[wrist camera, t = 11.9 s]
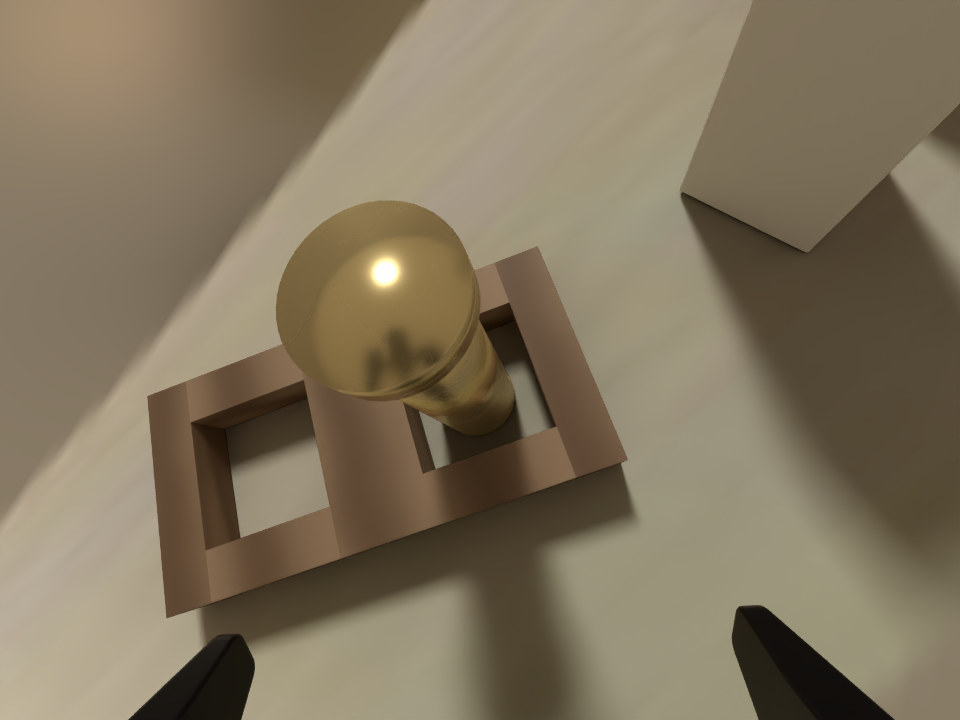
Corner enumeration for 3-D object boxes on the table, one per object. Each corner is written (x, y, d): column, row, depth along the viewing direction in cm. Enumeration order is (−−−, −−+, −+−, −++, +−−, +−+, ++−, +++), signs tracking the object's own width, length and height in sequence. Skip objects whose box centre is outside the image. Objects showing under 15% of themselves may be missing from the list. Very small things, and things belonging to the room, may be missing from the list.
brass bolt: (500, 461, 23) (414, 426, 10) (414, 422, 24) (241, 347, 11) (539, 370, 24) (505, 231, 11) (453, 337, 25) (334, 179, 12)
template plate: (540, 269, 25) (537, 246, 23) (620, 463, 22) (627, 459, 19) (184, 404, 27) (147, 396, 24) (206, 605, 23) (166, 618, 21)
